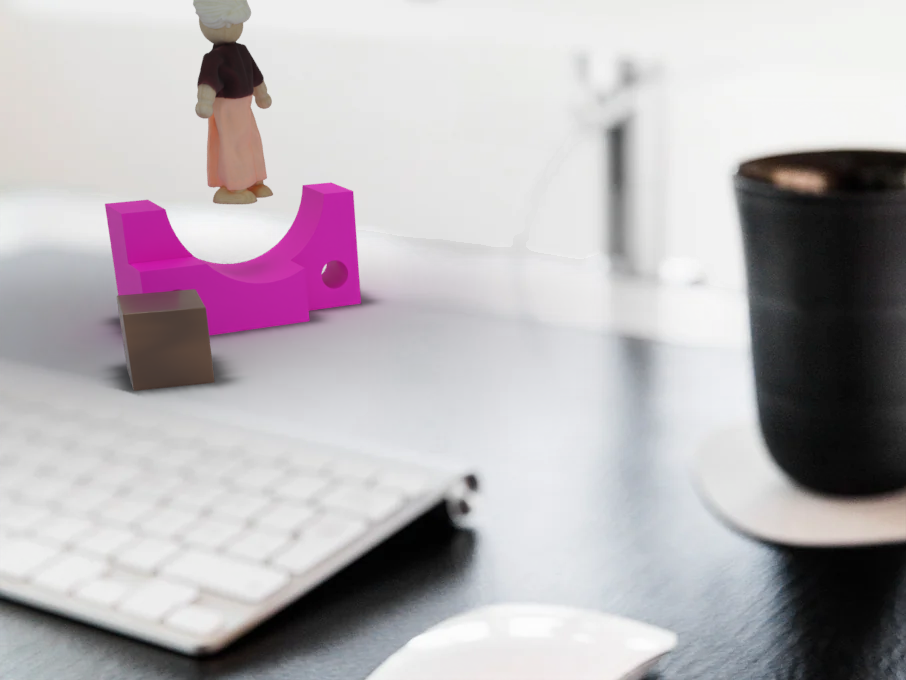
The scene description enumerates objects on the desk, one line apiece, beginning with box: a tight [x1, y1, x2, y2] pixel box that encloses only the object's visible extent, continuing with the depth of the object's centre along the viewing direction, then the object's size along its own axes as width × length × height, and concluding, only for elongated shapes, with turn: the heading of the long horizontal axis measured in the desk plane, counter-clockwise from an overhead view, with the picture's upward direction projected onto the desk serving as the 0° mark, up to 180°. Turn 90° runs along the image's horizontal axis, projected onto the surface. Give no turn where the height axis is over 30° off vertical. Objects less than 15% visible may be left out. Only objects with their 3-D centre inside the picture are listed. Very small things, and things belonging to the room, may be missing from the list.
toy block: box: [104, 182, 362, 337], centre depth 91 cm, size 15×6×8 cm, turn 122°
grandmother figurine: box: [192, 0, 274, 205], centre depth 87 cm, size 8×4×13 cm, turn 174°
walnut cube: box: [116, 289, 216, 392], centre depth 80 cm, size 4×4×4 cm
